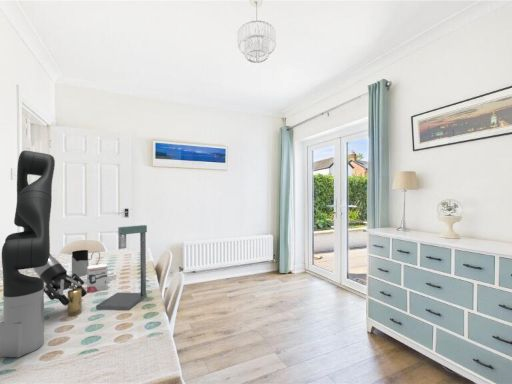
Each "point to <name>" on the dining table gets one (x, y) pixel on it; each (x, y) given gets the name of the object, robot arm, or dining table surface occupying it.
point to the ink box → (97, 278)
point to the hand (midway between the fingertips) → (76, 299)
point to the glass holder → (80, 262)
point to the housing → (75, 301)
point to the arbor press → (131, 299)
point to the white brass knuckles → (109, 277)
